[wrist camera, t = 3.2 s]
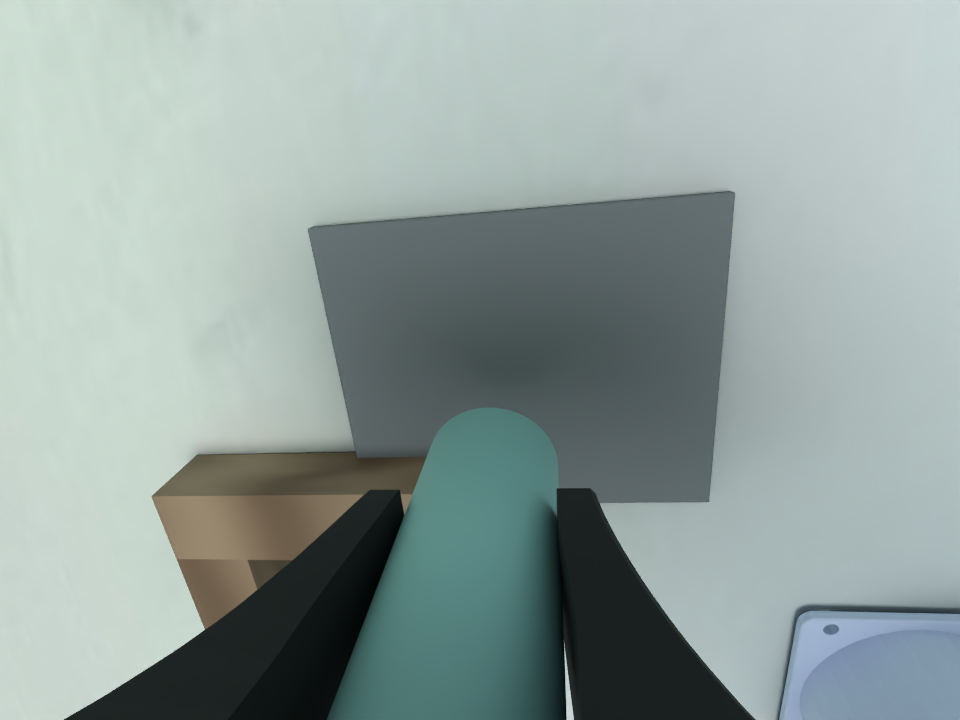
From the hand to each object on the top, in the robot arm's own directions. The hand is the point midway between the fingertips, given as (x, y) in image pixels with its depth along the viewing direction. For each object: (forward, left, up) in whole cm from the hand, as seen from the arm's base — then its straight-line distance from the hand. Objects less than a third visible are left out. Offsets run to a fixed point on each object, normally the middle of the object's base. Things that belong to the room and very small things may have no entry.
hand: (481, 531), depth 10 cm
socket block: (+7, +8, -8) cm, 13 cm away
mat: (0, 0, -8) cm, 8 cm away
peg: (0, 0, -2) cm, 2 cm away
